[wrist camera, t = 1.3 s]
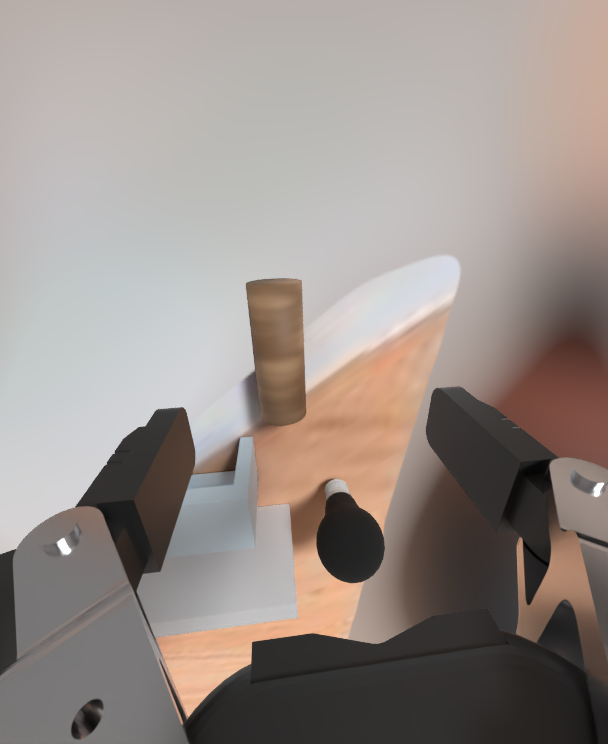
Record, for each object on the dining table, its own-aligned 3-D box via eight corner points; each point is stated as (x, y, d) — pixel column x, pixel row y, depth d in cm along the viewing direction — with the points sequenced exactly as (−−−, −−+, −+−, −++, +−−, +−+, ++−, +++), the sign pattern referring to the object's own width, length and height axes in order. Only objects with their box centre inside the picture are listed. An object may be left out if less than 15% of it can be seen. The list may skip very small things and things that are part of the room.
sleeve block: (168, 443, 28) (136, 510, 21) (252, 436, 29) (247, 498, 22) (180, 487, 31) (154, 559, 24) (258, 479, 31) (255, 547, 24)
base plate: (159, 517, 32) (115, 628, 23) (289, 503, 33) (296, 603, 24) (163, 530, 33) (123, 642, 24) (290, 516, 34) (297, 617, 25)
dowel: (264, 277, 24) (234, 285, 21) (310, 279, 22) (286, 287, 19) (274, 397, 29) (251, 419, 25) (312, 405, 27) (294, 429, 24)
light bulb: (314, 507, 34) (331, 606, 25) (301, 469, 31) (314, 564, 22) (364, 493, 34) (399, 587, 25) (355, 454, 31) (389, 543, 22)
